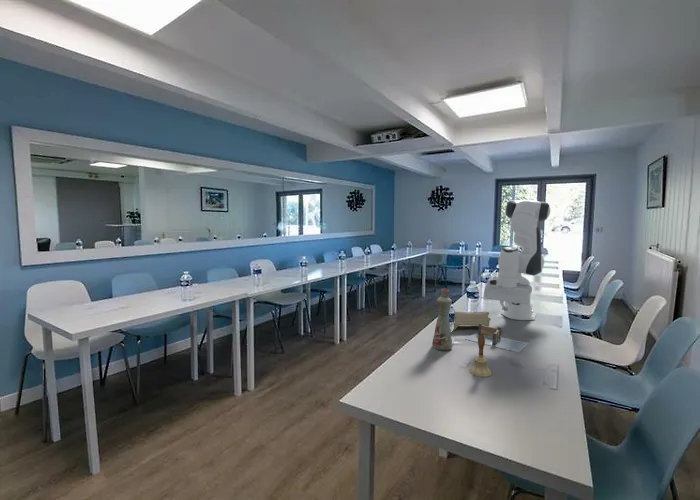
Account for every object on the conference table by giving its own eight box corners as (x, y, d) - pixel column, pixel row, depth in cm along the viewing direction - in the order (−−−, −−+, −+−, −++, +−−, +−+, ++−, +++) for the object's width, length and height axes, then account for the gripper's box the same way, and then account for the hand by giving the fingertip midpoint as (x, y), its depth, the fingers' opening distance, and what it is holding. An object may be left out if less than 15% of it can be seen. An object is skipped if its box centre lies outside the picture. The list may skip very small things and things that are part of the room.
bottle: (453, 352, 161) (455, 290, 158) (432, 350, 162) (434, 289, 159) (451, 345, 169) (454, 286, 166) (431, 343, 171) (433, 285, 168)
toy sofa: (483, 325, 200) (483, 307, 199) (490, 330, 192) (491, 311, 191) (446, 325, 199) (447, 307, 198) (452, 331, 190) (453, 312, 189)
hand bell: (477, 378, 136) (479, 337, 134) (464, 369, 144) (466, 330, 142) (496, 375, 138) (498, 335, 136) (482, 366, 146) (484, 328, 144)
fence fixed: (478, 333, 186) (479, 322, 185) (501, 338, 178) (501, 327, 178) (477, 334, 184) (478, 323, 184) (499, 339, 177) (500, 327, 176)
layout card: (477, 331, 188) (477, 331, 188) (528, 343, 172) (528, 343, 172) (465, 339, 177) (465, 338, 177) (518, 352, 161) (518, 352, 161)
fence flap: (496, 338, 177) (496, 328, 177) (499, 339, 176) (500, 329, 176) (491, 344, 170) (492, 333, 169) (495, 345, 169) (495, 334, 168)
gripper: (532, 283, 166) (530, 312, 168) (486, 277, 176) (484, 305, 178) (531, 285, 161) (529, 315, 163) (483, 280, 171) (482, 308, 173)
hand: (505, 310), depth 171 cm, fingers closed
